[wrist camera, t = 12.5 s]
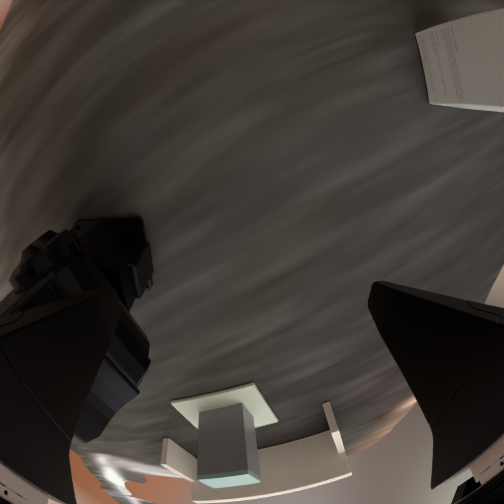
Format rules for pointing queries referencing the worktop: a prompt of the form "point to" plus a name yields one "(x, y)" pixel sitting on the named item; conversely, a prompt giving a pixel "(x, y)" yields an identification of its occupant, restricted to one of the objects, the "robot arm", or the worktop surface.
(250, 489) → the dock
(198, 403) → the mat
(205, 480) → the grey teal block
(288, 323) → the worktop surface
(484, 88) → the supplement box
